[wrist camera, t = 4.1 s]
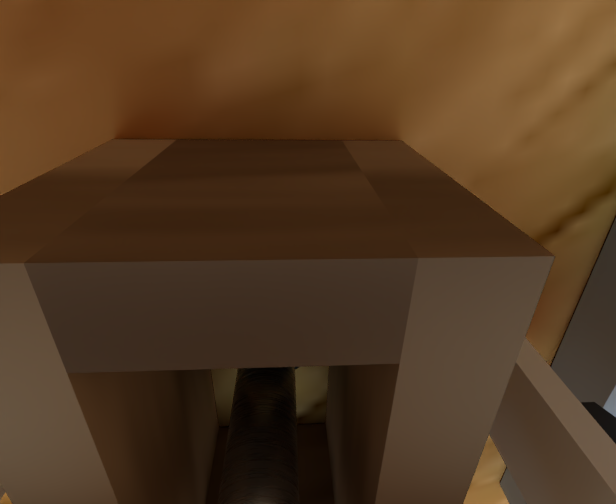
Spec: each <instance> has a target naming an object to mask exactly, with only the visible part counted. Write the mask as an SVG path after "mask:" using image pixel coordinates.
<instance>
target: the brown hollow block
mask: <svg viewBox="0 0 616 504" xmlns="http://www.w3.org/2000/svg"><path fill="white" fill-rule="evenodd" d="M554 258H555V256H554V255H553V254H552V253H550V252H549V251H548V250H546V249H545V248H544V247H542V246H541V245H540V244H538V243H537V242H536V241H534V240H533V239H532V238H530V237H529V236H528V235H526V234H525V233H524V232H522V231H521V230H520V229H518V228H517V227H516V226H514V225H513V224H512V223H510V222H509V221H508V220H506V219H505V218H504V217H502V216H501V215H500V214H498V213H497V212H496V211H494V210H493V209H492V208H490V207H489V206H488V205H486V204H485V203H484V202H483V201H481V200H480V199H479V198H477V197H476V196H475V195H473V194H472V193H471V192H469V191H468V190H467V189H465V188H464V187H463V186H461V185H460V184H459V183H457V182H456V181H455V180H453V179H452V178H451V177H449V176H448V175H447V174H445V173H444V172H443V171H441V170H440V169H439V168H437V167H436V166H435V165H433V164H432V163H431V162H429V161H428V160H427V159H425V158H424V157H423V156H421V155H420V154H419V153H417V152H416V151H415V150H413V149H412V148H411V147H410V146H408V145H407V144H406V143H404V142H403V141H388V140H186V139H112V140H110V141H108V142H106V143H104V144H102V145H100V146H98V147H96V148H94V149H92V150H90V151H88V152H86V153H84V154H82V155H80V156H79V157H77V158H75V159H73V160H71V161H69V162H67V163H65V164H63V165H61V166H59V167H57V168H55V169H53V170H51V171H49V172H47V173H45V174H43V175H41V176H39V177H37V178H35V179H33V180H31V181H29V182H27V183H25V184H23V185H21V186H19V187H17V188H15V189H13V190H11V191H9V192H7V193H5V194H3V195H1V196H0V484H1V486H2V487H3V489H4V490H5V492H6V494H7V495H8V497H9V498H10V500H11V502H12V503H13V504H218V498H219V491H220V484H221V477H222V471H223V464H224V457H225V451H226V444H227V437H228V430H229V427H222V428H219V425H218V418H217V411H216V404H215V397H214V391H213V384H212V377H211V370H210V369H231V368H266V367H300V366H329V373H328V391H327V408H326V424H302V425H297V449H298V480H299V504H463V502H464V499H465V497H466V494H467V491H468V489H469V486H470V483H471V481H472V478H473V475H474V473H475V470H476V467H477V465H478V462H479V459H480V457H481V454H482V451H483V449H484V446H485V443H486V441H487V438H488V435H489V433H490V430H491V427H492V424H493V422H494V419H495V416H496V414H497V411H498V408H499V406H500V403H501V400H502V398H503V395H504V392H505V390H506V387H507V384H508V382H509V379H510V376H511V374H512V371H513V368H514V366H515V363H516V360H517V357H518V355H519V352H520V349H521V347H522V344H523V341H524V339H525V336H526V333H527V331H528V328H529V325H530V323H531V320H532V317H533V315H534V312H535V309H536V307H537V304H538V301H539V299H540V296H541V293H542V290H543V288H544V285H545V282H546V280H547V277H548V274H549V272H550V269H551V266H552V264H553V261H554Z"/></svg>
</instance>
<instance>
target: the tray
mask: <svg viewBox="0 0 616 504" xmlns="http://www.w3.org/2000/svg"><path fill="white" fill-rule="evenodd" d="M551 368H552V370H553V371H554V372H555V373H556V374H557V375H558V377H559V378H560V379H561V380H562V381H563V383H564V384H565V385H566V386H567V387H568V388H569V390H570V391H571V392H572V393H573V394H574V396H575V397H576V398H577V399H578V400H579V401H580V402H595V403H597V404H598V405H600V406H601V407H602V408H604V409H605V410H606V411H608V412H609V413H611V414H612V415H613V416H615V417H616V219H615V221H614V223H613V225H612V228H611V230H610V232H609V235H608V237H607V239H606V242H605V244H604V246H603V248H602V251H601V253H600V255H599V258H598V260H597V262H596V264H595V267H594V269H593V271H592V274H591V276H590V278H589V281H588V283H587V285H586V287H585V290H584V292H583V294H582V297H581V299H580V301H579V303H578V306H577V308H576V310H575V313H574V315H573V317H572V320H571V322H570V324H569V326H568V329H567V331H566V333H565V336H564V338H563V340H562V342H561V345H560V347H559V349H558V352H557V354H556V356H555V359H554V361H553V363H552V365H551ZM500 485H501V487H502V489H503V491H504V493H505V495H506V497H507V500H508V502H509V504H527V503H526V501H525V500H524V498H523V496H522V494H521V492H520V490H519V488H518V487H517V485H516V483H515V481H514V479H513V477H512V475H511V474H510V472H509V470H508V468H507V469H506V471H505V473H504V475H503V478H502V480H501V482H500Z"/></svg>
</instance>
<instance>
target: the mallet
mask: <svg viewBox="0 0 616 504" xmlns="http://www.w3.org/2000/svg"><path fill="white" fill-rule="evenodd" d="M297 368H298V367H266V368H238V370H237V377H236V383H235V390H234V397H233V404H232V410H231V417H230V424H229V430H228V437H227V444H226V451H225V457H224V464H223V471H222V477H221V484H220V491H219V498H218V504H299V480H298V449H297V418H296V387H295V369H297Z"/></svg>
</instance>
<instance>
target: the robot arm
mask: <svg viewBox="0 0 616 504" xmlns="http://www.w3.org/2000/svg"><path fill="white" fill-rule="evenodd" d="M489 434H490V436H491V438H492V440H493V442H494V444H495V446H496V447H497V449H498V451H499V453H500V455H501V457H502V459H503V460H504V462H505V464H506V466H507V468H508V470H509V472H510V474H511V475H512V477H513V479H514V481H515V483H516V485H517V487H518V488H519V490H520V492H521V494H522V496H523V498H524V500H525V501H526V503H527V504H616V417H615V416H613V415H612V414H611V413H609V412H608V411H606V410H605V409H604V408H602V407H601V406H600V405H598V404H597V403H595V402H580V401H579V400H578V399H577V398H576V397H575V396H574V394H573V393H572V392H571V391H570V390H569V388H568V387H567V386H566V385H565V384H564V383H563V381H562V380H561V379H560V378H559V377H558V375H557V374H556V373H555V372H554V371H553V370H552V368H551V367H550V366H549V365H548V364H547V362H546V361H545V360H544V359H543V358H542V357H541V355H540V354H539V353H538V352H537V351H536V349H535V348H534V347H533V346H532V345H531V344H530V342H529V341H528V340H527V339H526V338H525V339H524V341H523V344H522V347H521V349H520V352H519V355H518V357H517V360H516V363H515V366H514V368H513V371H512V374H511V376H510V379H509V382H508V384H507V387H506V390H505V392H504V395H503V398H502V400H501V403H500V406H499V408H498V411H497V414H496V416H495V419H494V422H493V424H492V427H491V430H490V433H489ZM4 493H5V490H4V489H3V487H2V486H1V484H0V500H1V498H2V496H3V495H4Z"/></svg>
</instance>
